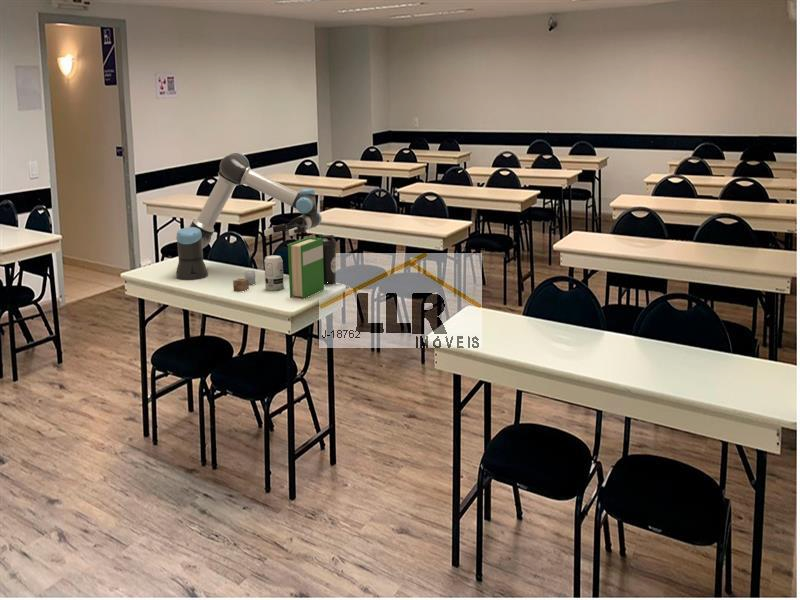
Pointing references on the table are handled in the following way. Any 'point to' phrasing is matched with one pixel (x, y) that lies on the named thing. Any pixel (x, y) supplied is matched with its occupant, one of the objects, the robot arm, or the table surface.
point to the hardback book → (306, 267)
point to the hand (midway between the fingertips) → (277, 233)
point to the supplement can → (274, 272)
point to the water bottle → (329, 259)
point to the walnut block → (240, 284)
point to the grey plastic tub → (250, 277)
